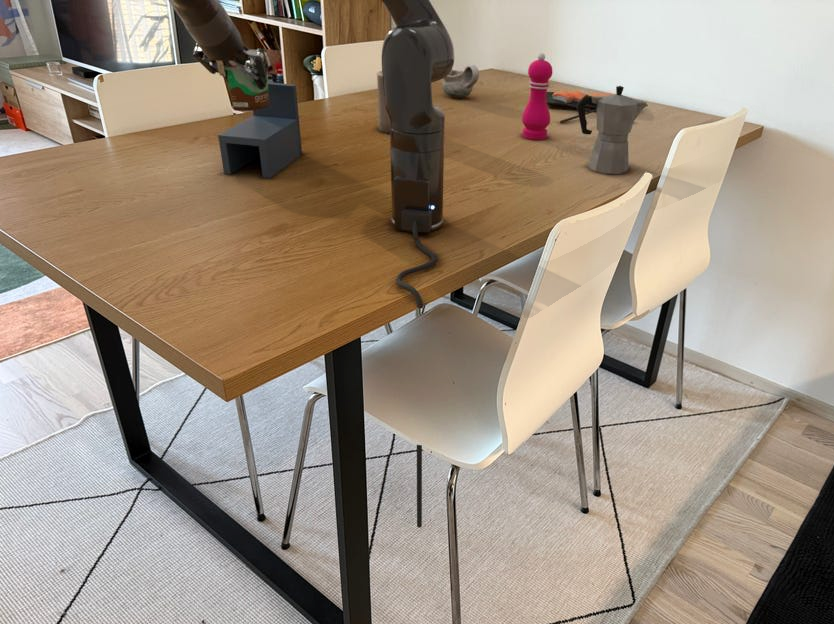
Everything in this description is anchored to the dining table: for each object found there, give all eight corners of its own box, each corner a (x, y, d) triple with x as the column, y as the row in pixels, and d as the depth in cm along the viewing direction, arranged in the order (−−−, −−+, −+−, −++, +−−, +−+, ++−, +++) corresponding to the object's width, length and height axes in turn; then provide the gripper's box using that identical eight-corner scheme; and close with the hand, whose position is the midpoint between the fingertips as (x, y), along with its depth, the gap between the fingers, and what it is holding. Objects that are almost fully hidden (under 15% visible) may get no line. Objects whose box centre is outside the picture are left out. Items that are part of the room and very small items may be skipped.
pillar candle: (419, 134, 177) (418, 71, 169) (380, 134, 175) (378, 71, 167) (413, 124, 185) (413, 63, 177) (376, 124, 183) (374, 63, 175)
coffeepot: (633, 163, 165) (647, 83, 155) (639, 176, 157) (654, 92, 147) (568, 159, 165) (577, 79, 155) (571, 172, 157) (581, 88, 147)
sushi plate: (633, 104, 216) (635, 91, 214) (638, 129, 191) (641, 115, 189) (539, 97, 219) (541, 84, 217) (532, 121, 194) (533, 106, 192)
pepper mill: (521, 132, 184) (527, 49, 173) (548, 134, 183) (557, 51, 172) (519, 139, 178) (526, 54, 167) (548, 141, 177) (556, 56, 166)
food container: (259, 114, 140) (253, 61, 134) (230, 112, 140) (223, 58, 135) (284, 101, 150) (279, 51, 145) (256, 99, 151) (251, 48, 145)
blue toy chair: (269, 178, 145) (260, 103, 136) (223, 173, 146) (212, 98, 138) (302, 153, 160) (296, 84, 151) (260, 149, 161) (252, 80, 152)
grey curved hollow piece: (453, 91, 220) (454, 57, 214) (487, 98, 214) (489, 63, 209) (435, 97, 213) (436, 61, 207) (470, 103, 207) (471, 67, 202)
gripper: (253, 11, 125) (287, 71, 141) (178, 5, 126) (220, 65, 143) (244, 48, 123) (279, 104, 140) (168, 42, 125) (211, 97, 141)
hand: (249, 84), depth 141 cm, fingers closed on food container, 5 cm apart
